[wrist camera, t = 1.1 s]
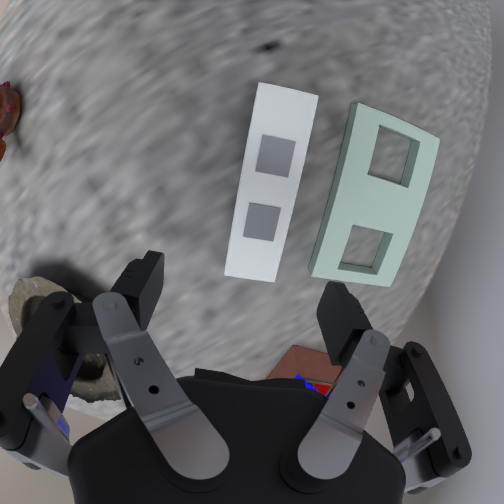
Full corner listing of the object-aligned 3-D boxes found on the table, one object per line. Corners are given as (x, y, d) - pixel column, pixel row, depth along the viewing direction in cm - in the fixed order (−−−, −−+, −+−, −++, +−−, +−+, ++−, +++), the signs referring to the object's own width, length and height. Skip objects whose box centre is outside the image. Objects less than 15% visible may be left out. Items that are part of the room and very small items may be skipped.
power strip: (256, 92, 25) (259, 81, 19) (302, 102, 25) (319, 95, 19) (228, 244, 33) (224, 276, 26) (268, 251, 33) (274, 283, 27)
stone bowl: (88, 379, 46) (71, 409, 37) (16, 287, 38) (-12, 311, 29) (170, 358, 41) (155, 401, 33) (78, 230, 33) (38, 256, 24)
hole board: (351, 103, 25) (358, 102, 24) (430, 137, 27) (440, 139, 25) (308, 268, 34) (311, 276, 33) (384, 279, 36) (390, 287, 34)
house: (349, 356, 43) (368, 409, 33) (293, 412, 51) (300, 457, 41) (291, 341, 41) (302, 403, 30) (242, 403, 49) (242, 453, 38)
